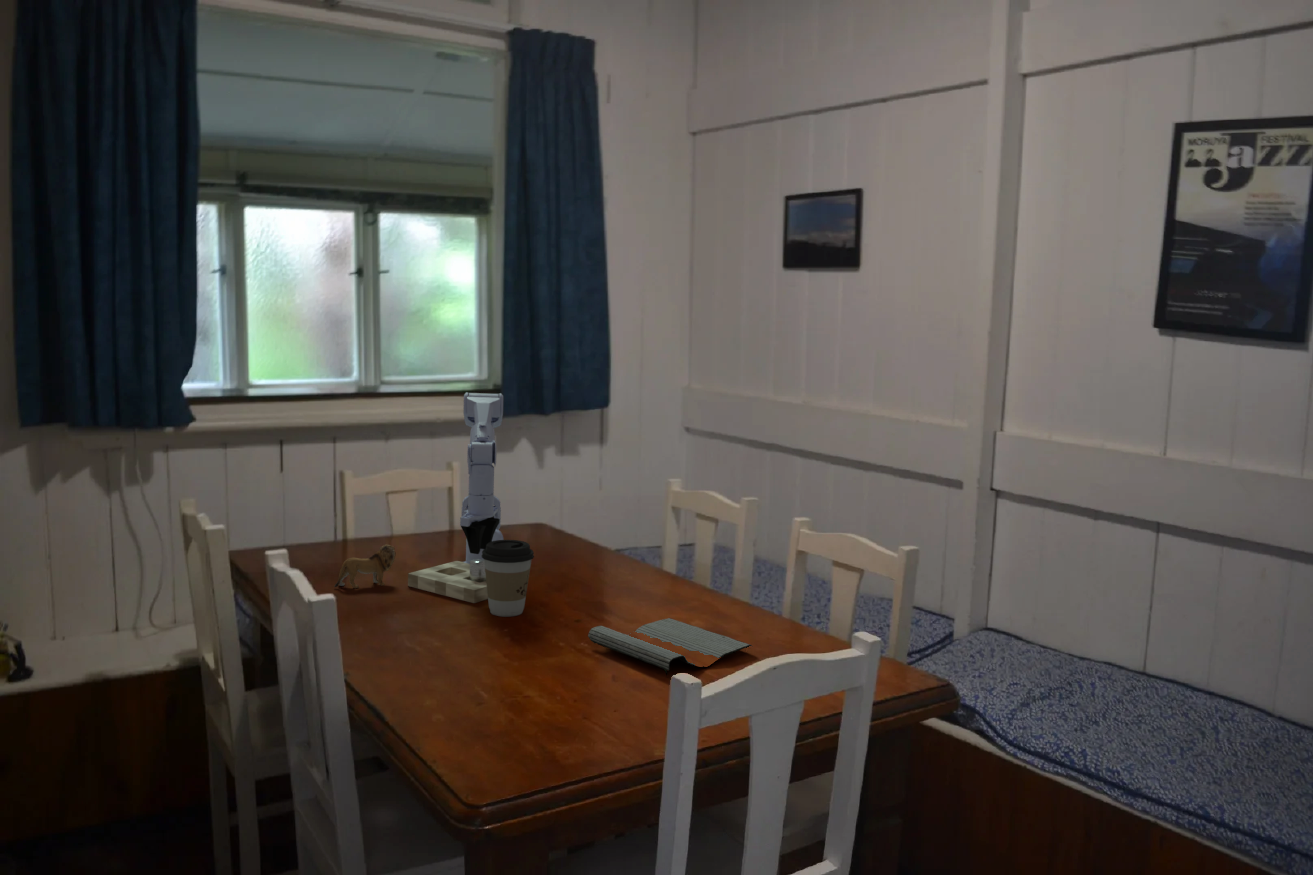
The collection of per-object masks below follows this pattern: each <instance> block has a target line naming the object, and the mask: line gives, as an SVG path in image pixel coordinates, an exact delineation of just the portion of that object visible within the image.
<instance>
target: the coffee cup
mask: <svg viewBox="0 0 1313 875" xmlns="http://www.w3.org/2000/svg"><path fill="white" fill-rule="evenodd" d="M481 557H482V558H483V559H484V565H485V574H486V584H487V593H488V599H487V601H488V608H489V612H490V614H491V615H493V616H496V617H497V616H498V617H503V618H504V617H505V618H507V617H509V618H510V617H516V616H517V617H518V616H520V615H522V614H523V613H524V609H525V604H526V598H527V592H528V584H529V579H530V573H531V572H530V571H531V566H532V560H533V559H534V558H535V555H534V551H533V549H531V546H530V543H528V542H527V541H523V540H519V539H518V540H517V539H504V540H496V541H492V542H489V543H488V544H487V545H486V549H484V550H483V551H482V556H481Z"/></svg>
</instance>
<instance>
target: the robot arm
mask: <svg viewBox="0 0 1313 875" xmlns="http://www.w3.org/2000/svg"><path fill="white" fill-rule="evenodd" d="M503 417H504V395H503V394H502V393H501V392H500V393H486V392H485V393H484V392H483V393H482V392H481V393H479V392H467V391H466V392H465V393H464V394H463V418H464V420H463V421H464V423H465V426H467V427H469V428H470V432H469V433H470V435H469V436H470V437H469V443H468V444H467V451H466V452H467V453H466V454H467V458H466V459H467V460H466V463H467V468H468V469H467V470H468V471H467V472H468V473H467V474H468V495H467V496H465V497H464V498H463V500H462V504H461V516H460V520H459V521H460V522H459V523H460V524H459V527H460V528H461V529H462V531H463V532H464V536H465V537H466V538H465V542H466V543H465V544H466V545H465V561H463V562H464V563H469V564H470V561H471V560H474V559H483V558H482V557H481V556H482V551H483V550H484V549H486V545H487V544H488V543H489V542H492V541H496V540H505V538H504V535H503V533H502V531H501V530H499V529H500V528H501V522H502V521H501V518H502V516H501V515H502V514H501V513H502V512H501V511H502V510H501V508H502V507H501V501H500V498H499V497H497V496H496V495H495V493H494V491H495V489H494V488H495V466H496V465H497V442H496V434H495V433H496V432H495V429H496V428H498V427H500V426H502V423H503ZM493 464H494V465H493Z"/></svg>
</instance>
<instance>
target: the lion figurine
mask: <svg viewBox="0 0 1313 875" xmlns="http://www.w3.org/2000/svg"><path fill="white" fill-rule="evenodd" d="M395 560H396V549H395V546H393V545H390V544H384V545H382V546H380V547H379V550H377V552H375V553H374V554H373V555H372V556H370V557H368V558H367V557H366V558H360V557H359V558H358V557H350V558H347V559H345V561H344V562H343V563H342V565H341V566H340V570H339V574H338V579H337V582H336V583H335V585H334V586H333V587H334V588H337V587H339V586H340V587H344V586H345V584H346V583H345V582H343V580H344V579H345V578H346V577H348V575H349V584H350V585H351V586H352V587H353V588H354V589H359V588H360V587H359V584H356V583H355V578H356V575H357V573H360V574H364V575H370V574H372V577H373V578H372V583H375V584H378V585H379V586H385V585H386V584H385V582H383V579H384V572H387V571H389V570H391V567H392V565H393V564H394V563H395Z"/></svg>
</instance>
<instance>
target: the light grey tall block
mask: <svg viewBox="0 0 1313 875" xmlns="http://www.w3.org/2000/svg"><path fill="white" fill-rule="evenodd" d="M470 580H471V581H475V582H479V583H481V582H484V581H486V574H485V565H484V559H474V560H471V561H470Z"/></svg>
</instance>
